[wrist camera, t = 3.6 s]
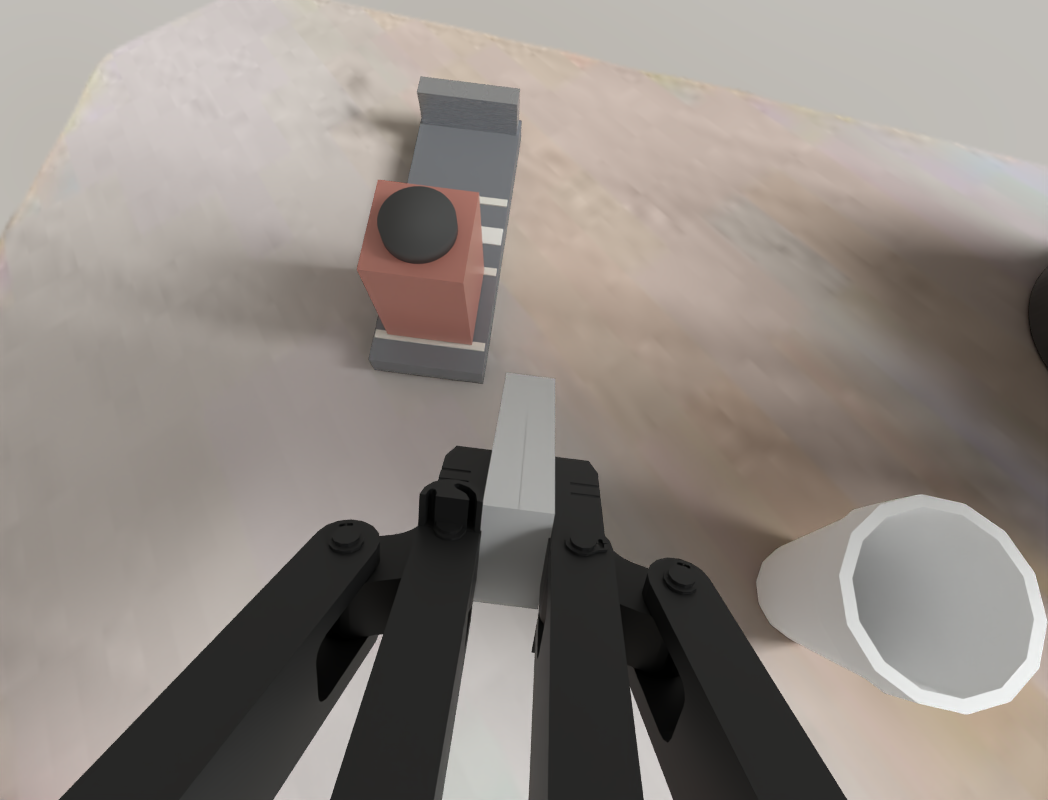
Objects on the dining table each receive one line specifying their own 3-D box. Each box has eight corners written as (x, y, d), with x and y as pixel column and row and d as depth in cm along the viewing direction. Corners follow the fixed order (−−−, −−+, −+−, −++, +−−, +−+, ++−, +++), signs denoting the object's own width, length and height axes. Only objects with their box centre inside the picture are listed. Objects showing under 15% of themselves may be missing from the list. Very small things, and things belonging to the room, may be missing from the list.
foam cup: (760, 684, 37) (889, 737, 25) (713, 539, 40) (808, 522, 27) (895, 646, 38) (1084, 679, 26) (841, 507, 41) (989, 476, 28)
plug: (471, 345, 41) (461, 274, 31) (387, 334, 41) (352, 260, 31) (484, 270, 43) (478, 181, 33) (403, 259, 43) (374, 168, 33)
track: (482, 383, 42) (480, 357, 38) (374, 369, 43) (357, 341, 38) (520, 138, 49) (522, 88, 44) (426, 126, 49) (418, 75, 44)
